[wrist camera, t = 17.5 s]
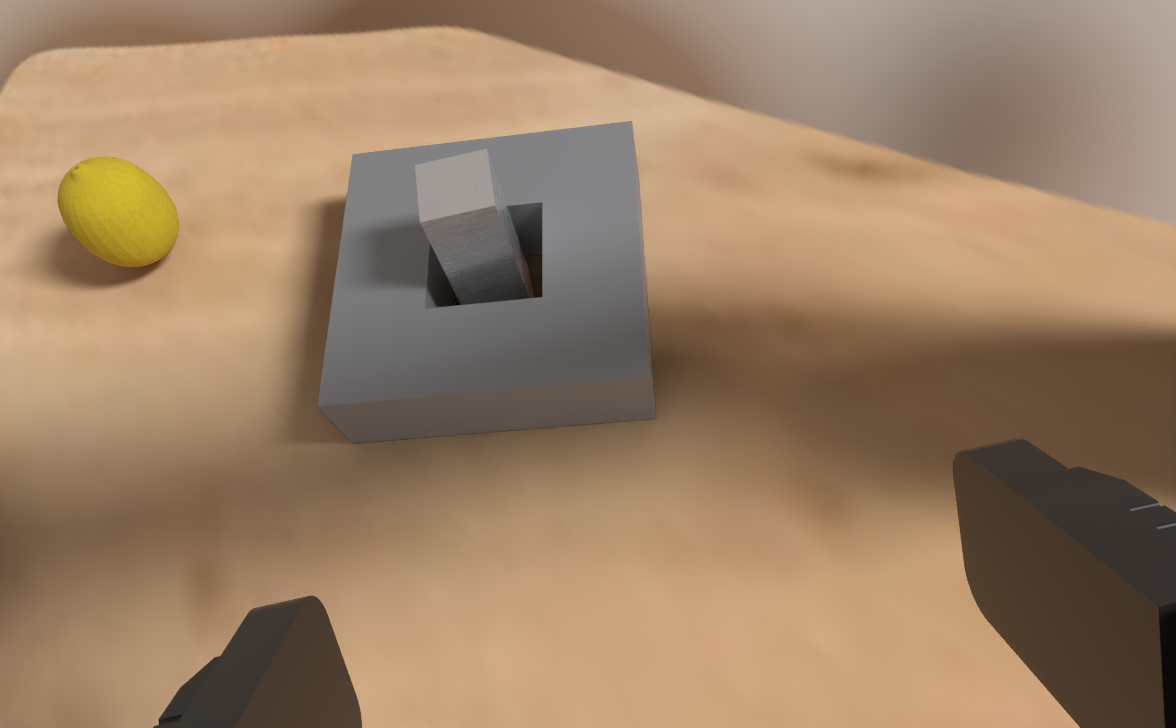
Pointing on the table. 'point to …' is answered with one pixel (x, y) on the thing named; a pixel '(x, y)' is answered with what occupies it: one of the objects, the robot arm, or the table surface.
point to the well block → (495, 329)
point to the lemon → (118, 212)
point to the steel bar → (472, 229)
